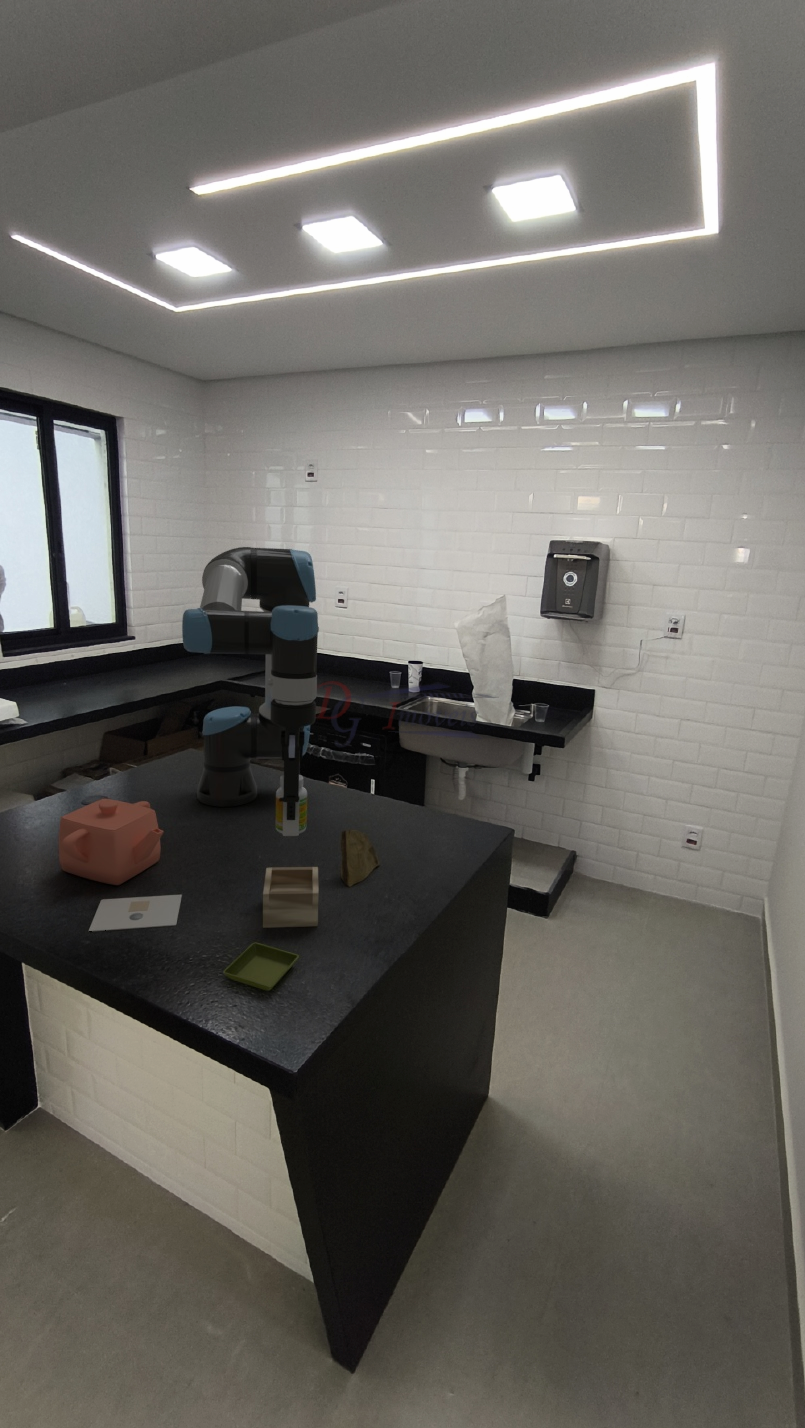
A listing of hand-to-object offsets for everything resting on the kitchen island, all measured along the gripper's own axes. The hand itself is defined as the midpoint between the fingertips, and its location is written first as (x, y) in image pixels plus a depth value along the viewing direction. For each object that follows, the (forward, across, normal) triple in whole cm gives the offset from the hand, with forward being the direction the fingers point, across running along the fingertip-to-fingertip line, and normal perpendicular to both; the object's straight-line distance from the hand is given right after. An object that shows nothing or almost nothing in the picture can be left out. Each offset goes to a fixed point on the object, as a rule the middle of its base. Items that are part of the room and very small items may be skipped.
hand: (291, 827), depth 113 cm
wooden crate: (+17, 0, 0) cm, 17 cm away
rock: (+17, -14, +14) cm, 26 cm away
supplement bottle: (+1, 0, 0) cm, 1 cm away
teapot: (+17, -17, -34) cm, 41 cm away
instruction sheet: (+17, -1, -27) cm, 32 cm away
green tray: (+18, +17, -4) cm, 25 cm away
